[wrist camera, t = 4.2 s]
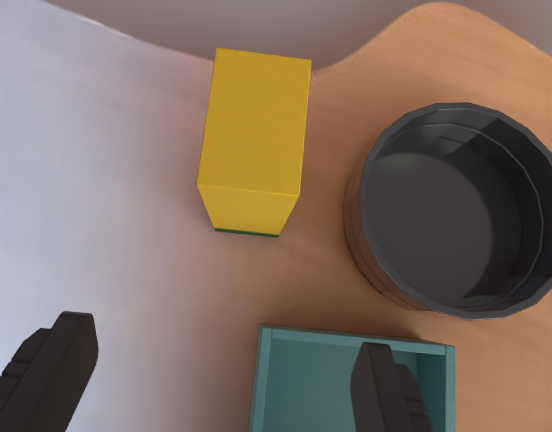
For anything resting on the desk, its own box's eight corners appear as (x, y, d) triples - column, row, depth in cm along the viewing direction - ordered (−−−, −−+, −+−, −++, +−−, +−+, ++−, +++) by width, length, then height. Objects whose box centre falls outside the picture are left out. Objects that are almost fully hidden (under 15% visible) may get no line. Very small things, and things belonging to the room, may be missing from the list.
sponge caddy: (242, 483, 22) (242, 521, 18) (259, 323, 24) (262, 327, 20) (419, 497, 23) (455, 537, 19) (422, 339, 25) (455, 346, 21)
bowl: (302, 204, 26) (313, 186, 22) (435, 99, 28) (468, 64, 24) (432, 359, 25) (469, 371, 20) (561, 234, 27) (618, 222, 23)
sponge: (214, 230, 25) (195, 184, 15) (226, 141, 27) (216, 46, 17) (278, 237, 25) (299, 196, 16) (287, 148, 27) (311, 59, 17)
